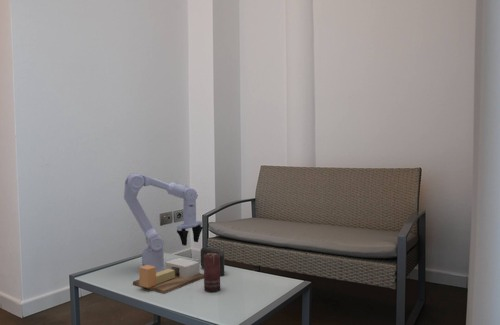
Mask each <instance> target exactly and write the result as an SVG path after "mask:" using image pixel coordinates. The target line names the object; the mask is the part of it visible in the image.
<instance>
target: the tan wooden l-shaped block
mask: <svg viewBox="0 0 500 325" xmlns="http://www.w3.org/2000/svg"><path fill="white" fill-rule="evenodd" d="M138 271H139V272H138V276H139V279H138V280H139V285H140V286H143V287H147V288H149V287H152V286H155V285H156V284H159V283H161V282H164V281H167V280H170V279H173V278H175V270H172V269H165V270H162V271H159V272H156V267H154V266H150V265H145V266H142V265H141V266H139V267H138ZM140 286H139V287H140ZM143 287H142V288H143Z"/></svg>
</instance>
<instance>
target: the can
mask: <svg viewBox="0 0 500 325" xmlns="http://www.w3.org/2000/svg"><path fill="white" fill-rule="evenodd" d="M203 274H204V278H203V288H204V291H205V292H207V293H215V292H216V293H217V292H219V291H220V290H221V275H220V255H219V253H218V252H207V253H205V254H204V269H203Z"/></svg>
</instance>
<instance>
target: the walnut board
mask: <svg viewBox="0 0 500 325" xmlns="http://www.w3.org/2000/svg"><path fill="white" fill-rule="evenodd" d="M202 279H203V280H204V273H203V272H200V274H197V275H194V276H192V277H189V278H186V279H185V278H182V277H180V273H176V274H175V278H173V279H170V280H167V281H164V282H161V283H159V284H156V285H155V286H152V287H149V288H147V287H143V286H140V285H139V279H137V280H133V281H132V285H133V286H137V287H139V288H144V289H147V290H150V291H154V292H157V293H159V294H167V293H169V292H172V291H175V290H177V289H180V288H182V287H185V286H187V285H190V284H193V283H195V282H197V281H200V280H202Z"/></svg>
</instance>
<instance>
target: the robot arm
mask: <svg viewBox="0 0 500 325" xmlns="http://www.w3.org/2000/svg"><path fill="white" fill-rule="evenodd" d="M149 186H152V187H156V188H159V189H162V190H165V191H166V192H167V194H168V195H171V196H174V197H176V198H179V199H183V209H182V210H183V223H182V224H179V225H177V226H176V233H177V234H178V237H179V238H180V241H181V245H182V246H187V244H188V235H189V230H187V229H191V230H192V233H193V234H192V235H193V236H192V237H193V238H192V239H193V242H194V243H199V240H200V235H201V233H202V231H203V228H204V226H203V221H200V220H198V221H197V199H198V194H197V191H196V189H194V188H191V187H189V186H188V185H183V184H180V183H179V182H178V181H175V182H174V181H172V182H170V183H168V182H165V181H162V180H160V179H157V178H154V177H152V176H149V175H145V174H138V173H135V172H134V173H133V172H132V173H129V174H128V175H127V177H126V179H125V181H124V191H123V199H124V200H125V202H126V204H127V206H128V208H129V209H130V211H131V213H132V215H133V216H134V218H135V219H136V222H137V223H138V225H139V228H140V229H141V230H142V232H143V234H144V236H145V242H146V244H147V245H148V246H147V247H146V248H145V249H144V250H143V251H142V253H141V267H142V266H145V265H150V266H154V267H156V272H159V271H162V270H165V269H166V266H165V264H164V260H165V259H164V246H165V241H164V238H162V236H160V235H159V234H158V233H157V231H156V230H155V228H154V227H153V225H152V222H151V221H150V219H149V217H148V216H147V214H146V212H145V211H144V209H143V206H142V205H141V203H140V202H139V200H138V194H139V191H140V190H141V189H142V188H143V187H149Z"/></svg>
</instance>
